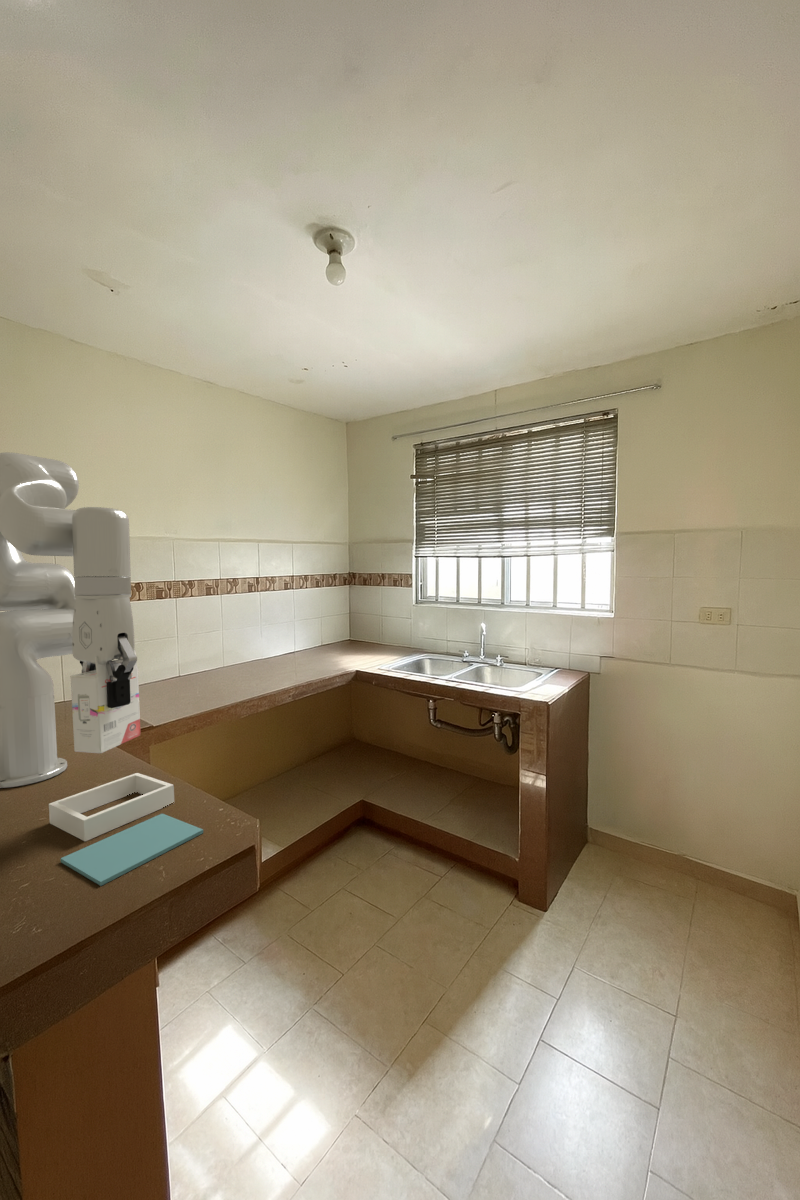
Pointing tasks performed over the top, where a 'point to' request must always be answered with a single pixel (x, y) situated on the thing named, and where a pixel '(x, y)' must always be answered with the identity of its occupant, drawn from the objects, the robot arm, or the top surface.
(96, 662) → the ink cartridge box
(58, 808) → the white rectangular frame
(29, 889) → the top surface
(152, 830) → the mat
